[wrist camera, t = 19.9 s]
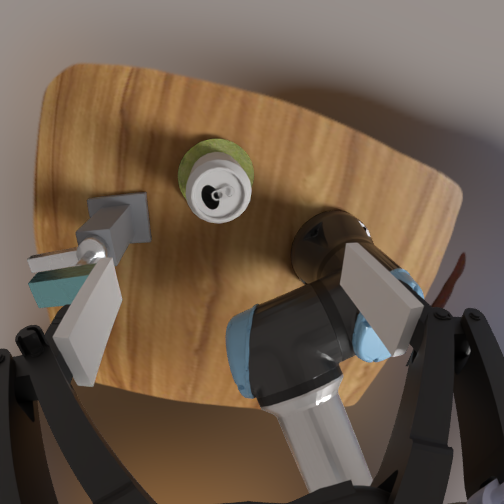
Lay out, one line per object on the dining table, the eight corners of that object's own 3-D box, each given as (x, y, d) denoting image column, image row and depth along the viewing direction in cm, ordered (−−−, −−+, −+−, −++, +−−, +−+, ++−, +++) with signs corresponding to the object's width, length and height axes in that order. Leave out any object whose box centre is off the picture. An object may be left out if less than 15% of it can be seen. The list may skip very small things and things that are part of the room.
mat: (164, 178, 42) (162, 181, 40) (213, 123, 40) (213, 123, 38) (218, 223, 47) (218, 227, 45) (266, 171, 44) (269, 173, 42)
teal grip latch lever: (30, 247, 31) (-8, 284, 22) (122, 229, 32) (96, 268, 23) (39, 273, 32) (6, 314, 24) (130, 259, 34) (109, 305, 25)
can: (183, 162, 40) (173, 176, 29) (232, 144, 40) (241, 151, 29) (201, 207, 43) (199, 237, 32) (248, 190, 43) (262, 215, 32)
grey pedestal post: (146, 191, 43) (126, 215, 32) (151, 239, 46) (137, 275, 35) (89, 198, 41) (57, 222, 30) (97, 243, 45) (71, 278, 34)
